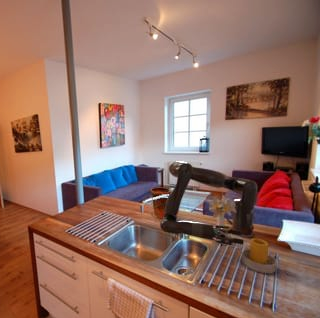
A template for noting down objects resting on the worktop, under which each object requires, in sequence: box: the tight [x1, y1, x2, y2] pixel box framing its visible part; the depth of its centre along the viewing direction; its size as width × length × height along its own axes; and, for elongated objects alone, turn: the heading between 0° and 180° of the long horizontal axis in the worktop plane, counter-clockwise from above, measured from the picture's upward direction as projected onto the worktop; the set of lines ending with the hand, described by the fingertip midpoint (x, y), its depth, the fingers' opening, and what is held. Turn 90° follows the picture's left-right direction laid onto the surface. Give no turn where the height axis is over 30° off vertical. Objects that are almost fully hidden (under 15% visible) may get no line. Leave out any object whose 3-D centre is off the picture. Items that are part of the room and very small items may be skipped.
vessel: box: [150, 186, 172, 219], centre depth 151 cm, size 14×14×20 cm
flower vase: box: [208, 194, 236, 241], centre depth 113 cm, size 13×18×25 cm
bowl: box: [241, 248, 278, 274], centre depth 93 cm, size 12×12×4 cm
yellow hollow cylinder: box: [249, 237, 269, 265], centre depth 92 cm, size 6×6×11 cm
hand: (242, 237), depth 94 cm, fingers open, 8 cm apart
